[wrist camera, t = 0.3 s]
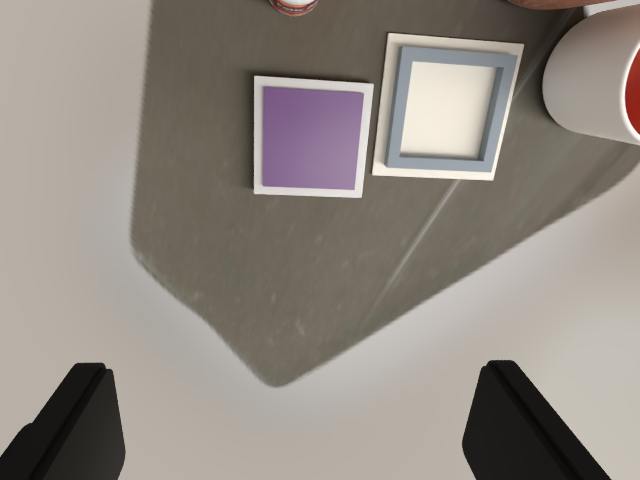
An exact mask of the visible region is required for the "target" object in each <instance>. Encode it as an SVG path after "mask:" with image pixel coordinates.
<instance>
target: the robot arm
mask: <svg viewBox="0 0 640 480" xmlns="http://www.w3.org/2000/svg"><path fill="white" fill-rule="evenodd" d="M462 448H463V452H464V455H465V457H466V459H467V462H468V464H469V466H470V468H471V470H472V472H473V474H474V476H475V478H476V480H611V479H610V477H609V476H608V475H607V474H606V473H605V471H604V470H603V469H602V468H601V466H600V465H599V464H598V463H597V462H596V461H595V459H594V458H593V457H592V455H590V453H589V452H588V451H587V449H586V448H585V447H584V446H583V445H582V443H581V442H580V441H579V440H578V439H577V437H576V436H575V435H574V433H573V432H572V431H571V430H570V429H569V427H568V426H567V425H566V424H565V422H564V421H563V420H562V419H561V418H560V416H559V415H558V414H557V413H556V411H555V410H554V409H553V408H552V407H551V406H550V404H549V403H548V402H547V400H546V399H545V398H544V397H543V395H542V394H541V393H540V392H539V391H538V389H537V388H536V387H535V386H534V384H533V383H532V382H531V381H530V380H529V378H528V377H527V376H526V375H525V373H524V372H523V371H522V370H521V369H520V367H519V366H518V365H517V364H516V363H515V362H514V361H511V360H491V361H489V362H488V363H487V365H486V366H483V367H482V369H481V371H480V375H479V379H478V383H477V387H476V390H475V395H474V398H473V402H472V405H471V409H470V413H469V417H468V421H467V424H466V429H465V432H464V436H463V440H462ZM124 460H125V444H124V438H123V432H122V425H121V419H120V413H119V407H118V400H117V394H116V387H115V381H114V375H113V371H112V370H111V369H106V367H105V365H104V364H103V363H76V364H75V365H74V366H73V367H72V368H71V370H70V371H69V372H68V374H67V375H66V377H65V378H64V379H63V381H62V382H61V384H60V385H59V386H58V388H57V389H56V391H55V392H54V393H53V395H52V396H51V397H50V399H49V400H48V402H47V403H46V405H45V406H44V407H43V409H42V410H41V411H40V413H39V414H38V416H37V417H36V418H35V420H34V421H33V422H32V423H29V424H27V425H26V426H24V427H23V428H22V429H21V430H20V431H19V432H18V434H17V435H16V436H15V438H14V439H13V441H12V442H11V443H10V444H9V446H8V447H7V449H6V450H5V451H4V453H3V454H2V455H1V457H0V480H118V477H119V475H120V472H121V470H122V467H123V464H124Z"/></svg>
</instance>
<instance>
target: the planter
mask: <svg viewBox="0 0 640 480" xmlns="http://www.w3.org/2000/svg"><path fill="white" fill-rule="evenodd" d="M506 1H508V2H510V3H512V4H514V5H517V6H520V7H523V8H527V9H534V10H555V9H565V8H573V7H579V6H585V5H591V4H598V3H604V2H609V1H615V0H506Z"/></svg>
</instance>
